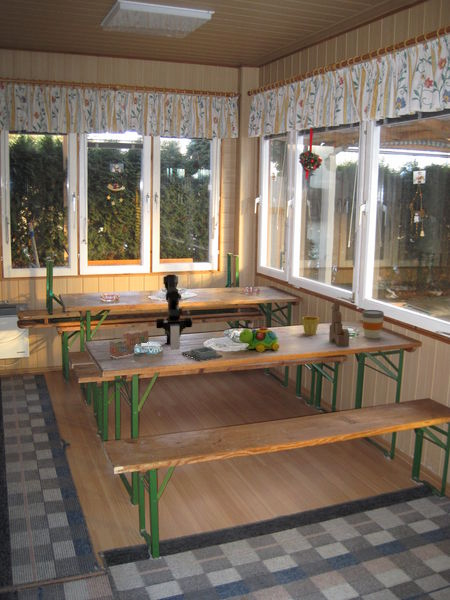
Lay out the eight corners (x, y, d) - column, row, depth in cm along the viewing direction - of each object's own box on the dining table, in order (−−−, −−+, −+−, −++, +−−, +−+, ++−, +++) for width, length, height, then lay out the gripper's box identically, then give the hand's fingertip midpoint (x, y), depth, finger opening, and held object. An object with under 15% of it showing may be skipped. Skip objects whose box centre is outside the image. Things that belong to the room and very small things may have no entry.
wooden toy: (349, 346, 357) (351, 302, 353) (338, 346, 356) (339, 303, 351) (338, 339, 372) (339, 297, 367) (327, 340, 370) (328, 298, 366)
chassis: (181, 353, 342) (181, 347, 342) (203, 349, 350) (203, 343, 350) (199, 361, 328) (199, 354, 327) (222, 357, 336) (222, 350, 335)
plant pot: (314, 336, 380) (315, 320, 378) (298, 334, 385) (299, 318, 383) (321, 333, 389) (321, 317, 387) (305, 331, 394) (305, 315, 392)
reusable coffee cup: (360, 338, 376) (361, 313, 373) (362, 333, 387) (363, 309, 385) (382, 339, 372) (383, 314, 369) (383, 334, 383) (384, 310, 381)
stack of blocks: (116, 359, 332) (116, 337, 330) (109, 357, 336) (108, 335, 334) (149, 352, 347) (148, 330, 344) (141, 350, 351) (141, 328, 349)
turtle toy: (233, 347, 356) (233, 326, 354) (271, 343, 365) (271, 323, 362) (245, 354, 341) (245, 333, 339) (284, 350, 349) (284, 329, 347)
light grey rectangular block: (170, 347, 333) (170, 324, 330) (179, 347, 333) (178, 323, 331) (170, 349, 328) (170, 326, 326) (179, 349, 329) (179, 325, 327)
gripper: (155, 303, 329) (156, 329, 320) (191, 302, 332) (193, 327, 323) (155, 315, 338) (156, 340, 330) (190, 314, 341) (192, 339, 332)
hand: (175, 336), depth 328 cm, fingers closed on light grey rectangular block, 4 cm apart
